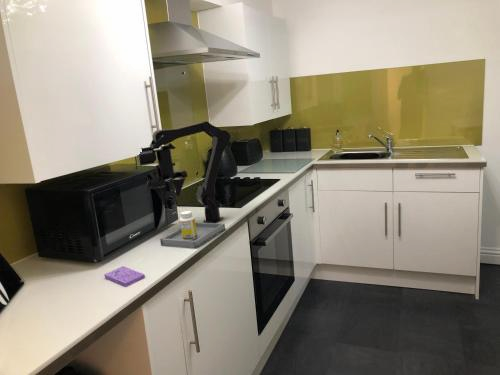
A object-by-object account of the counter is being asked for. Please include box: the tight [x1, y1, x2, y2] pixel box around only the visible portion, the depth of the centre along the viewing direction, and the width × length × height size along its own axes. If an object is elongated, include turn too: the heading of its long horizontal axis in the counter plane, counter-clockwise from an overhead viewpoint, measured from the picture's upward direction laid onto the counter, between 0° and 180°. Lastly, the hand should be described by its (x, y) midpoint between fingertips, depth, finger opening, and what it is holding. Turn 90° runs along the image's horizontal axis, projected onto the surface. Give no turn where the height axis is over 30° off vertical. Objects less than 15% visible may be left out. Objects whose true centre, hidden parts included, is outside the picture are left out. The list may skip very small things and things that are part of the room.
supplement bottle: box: [179, 210, 197, 240], centre depth 153 cm, size 6×6×10 cm
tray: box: [159, 221, 226, 249], centre depth 158 cm, size 20×16×2 cm
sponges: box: [103, 265, 146, 287], centre depth 128 cm, size 7×13×2 cm, turn 48°
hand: (171, 199), depth 168 cm, fingers open, 9 cm apart
